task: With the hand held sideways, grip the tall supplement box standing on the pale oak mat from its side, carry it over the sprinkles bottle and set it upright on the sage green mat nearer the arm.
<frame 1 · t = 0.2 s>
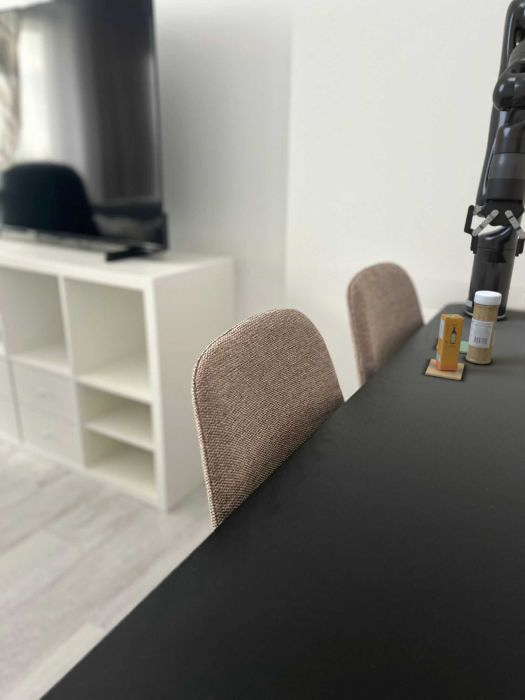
hand: (495, 255, 113), 17 cm above the table, tool pointing down, fingers open, 8 cm apart
oak mat: (445, 370, 94), on the table
sprinkles bottle: (477, 361, 99), on the table
supplement box: (445, 369, 94), resting on oak mat
green mat: (452, 346, 107), on the table
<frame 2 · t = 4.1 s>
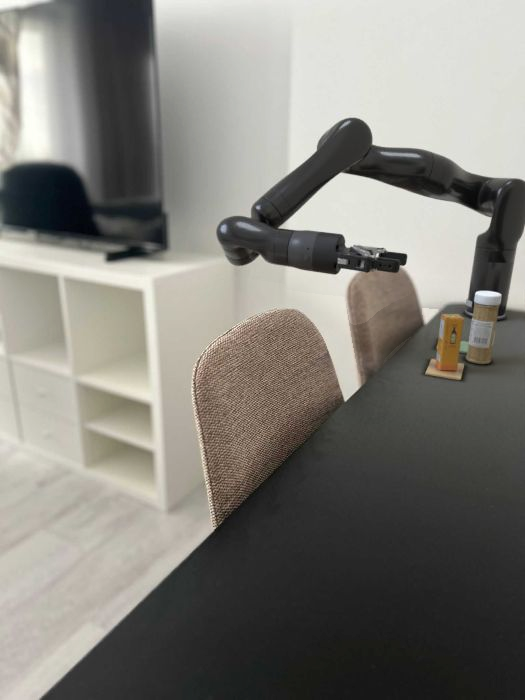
hand: (403, 263, 91), 19 cm above the table, tool horizontal, fingers open, 8 cm apart
nothing on the table moved.
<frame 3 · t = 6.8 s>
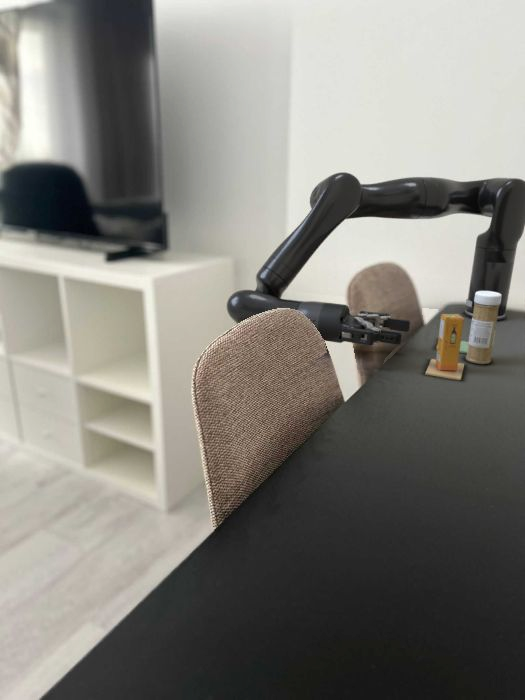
hand: (405, 332, 95), 6 cm above the table, tool horizontal, fingers open, 8 cm apart
nothing on the table moved.
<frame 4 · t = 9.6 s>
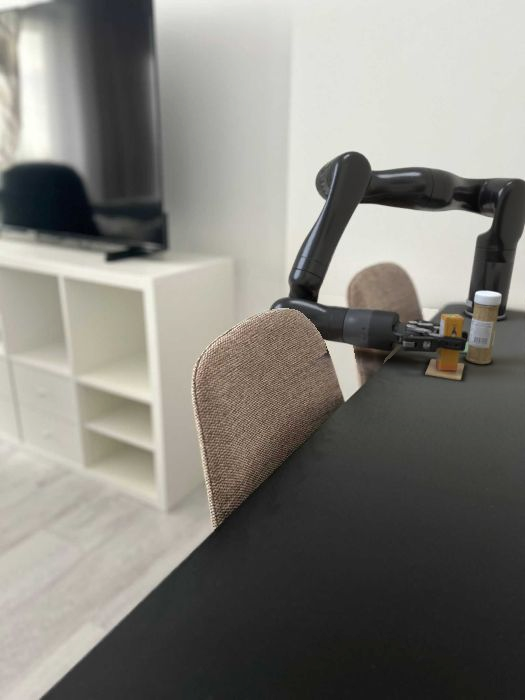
hand: (466, 341, 91), 6 cm above the table, tool horizontal, fingers closed on supplement box, 4 cm apart
supplement box: (445, 369, 94), resting on oak mat, touching gripper
everything else where it was.
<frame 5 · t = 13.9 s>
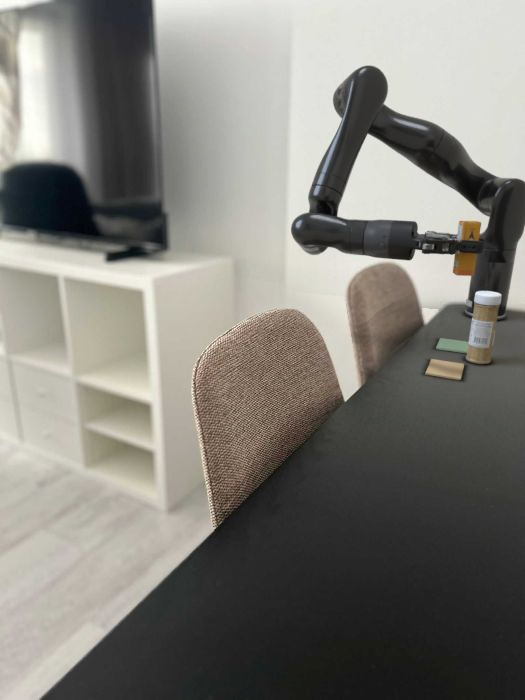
hand: (482, 246, 95), 22 cm above the table, tool horizontal, fingers closed on supplement box, 3 cm apart
supplement box: (462, 275, 98), point 16 cm above the table, touching gripper
everything else where it was.
when the fingers open (6 cm above the table, at t = 18.1 s): supplement box stays where it is, resting on green mat.
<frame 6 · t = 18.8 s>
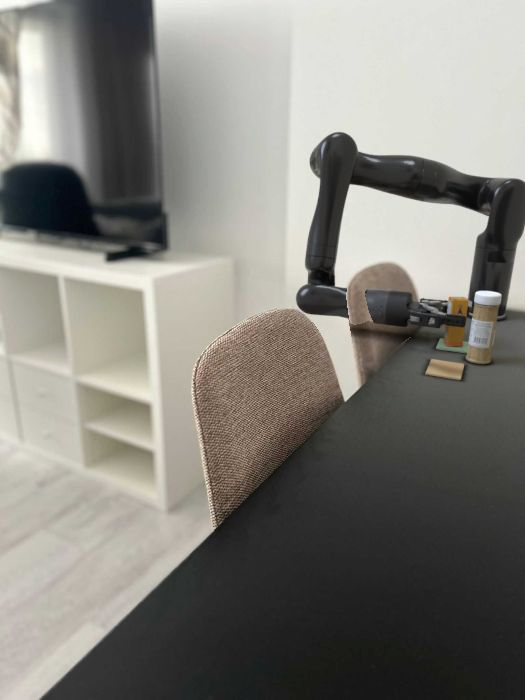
hand: (467, 316, 104), 7 cm above the table, tool horizontal, fingers open, 8 cm apart
supplement box: (452, 345, 107), resting on green mat
everything else where it was.
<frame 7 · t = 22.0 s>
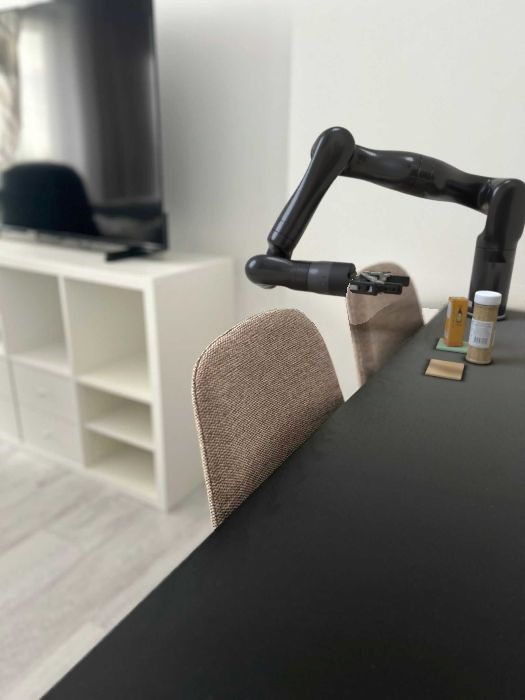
hand: (406, 285, 107), 12 cm above the table, tool horizontal, fingers open, 8 cm apart
nothing on the table moved.
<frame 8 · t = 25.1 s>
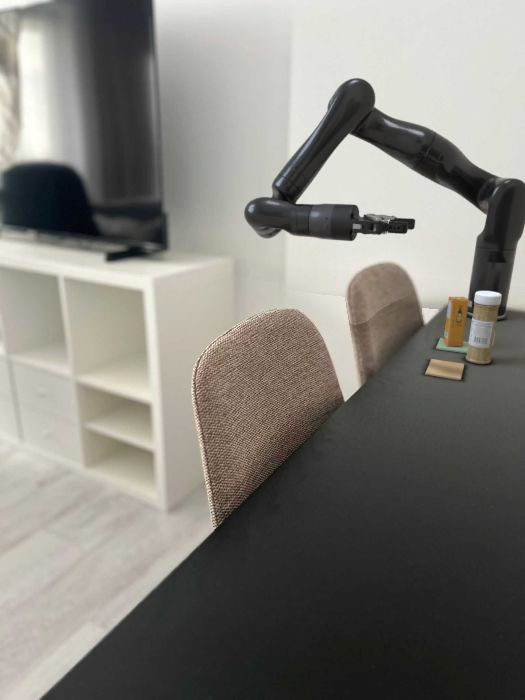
hand: (411, 226, 103), 24 cm above the table, tool horizontal, fingers open, 8 cm apart
nothing on the table moved.
at the end: supplement box inside the target area (0.2 cm from its centre), resting on green mat; supplement box tilted 0°; the gripper is holding nothing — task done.
